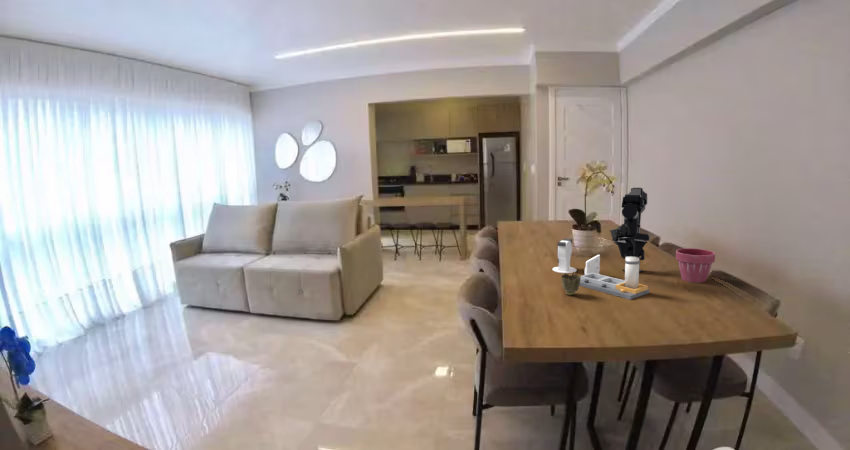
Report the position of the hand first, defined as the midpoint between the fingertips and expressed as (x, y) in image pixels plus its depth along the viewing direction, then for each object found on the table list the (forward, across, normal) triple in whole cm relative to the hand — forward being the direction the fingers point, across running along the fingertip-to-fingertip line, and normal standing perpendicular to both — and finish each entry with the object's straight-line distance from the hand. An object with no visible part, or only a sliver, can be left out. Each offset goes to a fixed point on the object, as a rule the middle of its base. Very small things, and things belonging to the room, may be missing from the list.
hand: (628, 257), depth 179 cm
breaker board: (+14, +3, -9) cm, 17 cm away
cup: (+19, +6, -28) cm, 34 cm away
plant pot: (+6, 0, +30) cm, 31 cm away
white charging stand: (+8, -28, -16) cm, 33 cm away
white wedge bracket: (+9, -17, -8) cm, 20 cm away
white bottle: (+14, +10, -4) cm, 17 cm away
